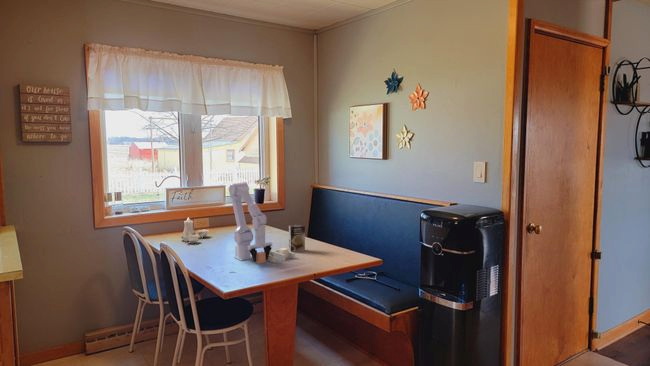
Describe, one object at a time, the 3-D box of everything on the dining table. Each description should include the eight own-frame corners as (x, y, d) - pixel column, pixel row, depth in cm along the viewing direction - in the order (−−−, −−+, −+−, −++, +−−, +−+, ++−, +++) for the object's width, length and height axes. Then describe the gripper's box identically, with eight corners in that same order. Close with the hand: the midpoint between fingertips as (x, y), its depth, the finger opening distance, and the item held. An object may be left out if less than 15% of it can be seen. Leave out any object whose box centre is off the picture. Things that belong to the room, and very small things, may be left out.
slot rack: (259, 258, 252) (259, 252, 252) (281, 254, 261) (281, 248, 261) (274, 264, 240) (274, 258, 239) (297, 259, 249) (297, 253, 249)
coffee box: (290, 253, 265) (290, 226, 263) (288, 250, 271) (288, 225, 269) (305, 252, 267) (305, 226, 266) (303, 249, 273) (302, 224, 272)
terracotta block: (255, 263, 243) (255, 252, 242) (261, 261, 245) (261, 251, 245) (259, 264, 240) (259, 253, 239) (265, 263, 242) (265, 252, 242)
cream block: (279, 257, 253) (278, 248, 252) (284, 256, 255) (284, 247, 255) (282, 258, 249) (282, 250, 249) (288, 257, 252) (288, 249, 251)
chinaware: (198, 247, 289) (200, 222, 287) (173, 244, 289) (175, 220, 287) (210, 238, 317) (211, 215, 315) (187, 236, 317) (189, 213, 315)
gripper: (252, 239, 234) (252, 264, 235) (275, 235, 243) (275, 259, 244) (245, 237, 239) (246, 261, 240) (268, 234, 248) (268, 257, 249)
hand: (260, 260), depth 243 cm, fingers open, 7 cm apart
